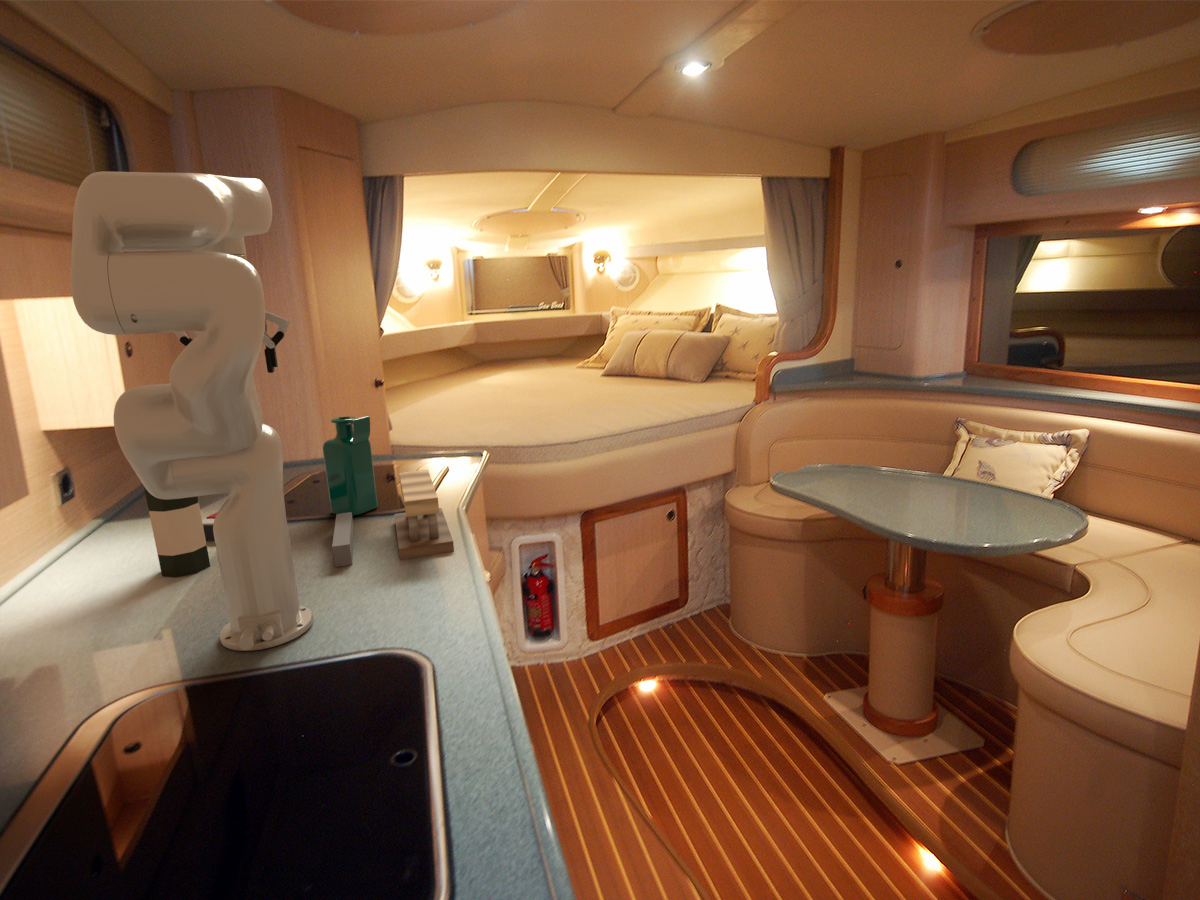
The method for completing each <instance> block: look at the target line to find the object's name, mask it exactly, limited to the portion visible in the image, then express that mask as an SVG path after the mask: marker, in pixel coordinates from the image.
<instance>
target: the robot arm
mask: <svg viewBox="0 0 1200 900" xmlns="http://www.w3.org/2000/svg"><path fill="white" fill-rule="evenodd" d="M78 187H79V188H78V190H77V194H76V196H75V201H74V208H73V216H72V230H71V231H72V232H71V233H72V235H71V236H72V242H71V259H70V260H71V261H70V286H71V287H70V288H71V289H70V291H71V296H72V301H73V305H74V306H75V310H76V313H77V314H78V316H79V317H80V319H81V320H82V322H83V323H84V324H85V325H87V327H89V328H90V329H92V330H94V331H95V332H98V333H101V334H106V335H113V336H127V335H128V336H129V335H142V334H143V335H145V334H146V335H147V334H164V333H173V334H174V335H175V337H177V339H178V341H179V342H180V344H182V345H184V346H185V348H183V350H182V351H181V352H180V353H179V355H178V356H177V357H176V359H175V360H174V361H173V363H172V366H171V368H170V370H169V374H168V377H169V378H168V379H169V380H168V381H169V382H168V383H159V384H157V383H156V384H145V385H140V386H135V387H131V388H129V389H127V390H126V391H124V392H123V393H121V394H120V395H119V397H118V399H117V400H116V402H115V405H114V407H113V408H114V409H113V426H114V432H115V436H116V439H117V443H118V446H119V447H120V449H121V452H122V453H123V456H124V457H125V460H127V462H128V463H129V465H130V467H131V468H132V470H133V471H134V473H135V475H136V476H137V478H138V480H140V482H141V484H142V485H143V487H145V488H146V490H147V491H148V492H149V493H150V494H151V495H153V496H154V497H156V498H159V499H164V500H170V499H181V498H188V497H195V496H198V497H202V496H210V495H215V494H216V495H220V494H225V495H226V494H227V495H228V498H227V499H226V500H225V502H224V503H223V504H222V505H221V507H220V508H219V510H218V511H217V512H218V513H217V512H216V513H217V515H216V517H215V519H214V523H213V533H214V539H215V541H214V543H215V548H216V555H217V559H218V566H219V572H220V576H221V577H220V578H221V582H222V587H223V594H224V598H225V604H226V605H225V606H226V609H227V615H228V621H229V622H228V623H226V624H225V625H224V626H223V628H221V629H220V632H219V641H220V643H221V645H223V647H225V649H226V648H227V649H229V650H233V651H239V652H240V651H241V652H249V651H250V652H251V651H259V650H265V649H269V648H273V647H276V646H281V645H283V644H286V643H288V642H290V641H292V640H295V639H297V638H298V637H300V636H301V635H303V634H304V633H306V632H307V631H308V630H309V629H310V628H311V626H312V625H313V623H314V616H313V615H314V614H313V612H312V610H311V609H310V608H308V607H306V606H304V605H301V603H300V599H299V593H298V592H299V591H298V586H297V585H298V584H297V579H296V573H295V572H296V571H295V565H294V560H293V553H292V547H291V546H292V545H291V539H290V532H289V527H288V519H287V512H286V506H285V505H286V504H285V497H284V496H285V495H284V450H283V449H284V448H283V443H282V438H281V437H280V435H279V433H278V432H277V430H276V429H274V428H273V427H271V426H270V425H268V424H265V423H264V418H263V411H262V408H261V402H260V399H259V395H258V390H257V386H256V382H255V377H254V371H255V368H256V366H257V363H258V360H259V356H260V353H261V348H262V345H263V344H264V345H265V348H264V357H265V365H266V369H267V373H269V374H273V373H274V372H275V368H277V367H279V364H278V359H277V352H276V350H277V349H276V347H277V346H278V344H279V343H280V342H281V341H282V340H283V339H284V337H285V335H286V333H287V331H288V329H289V325H290V320H288V319H286V318H283V317H282V316H279V315H278V314H277V315H276V314H274V313H271V312H269V311H267V310H266V301H265V292H264V285H263V283H262V279H261V276H260V274H259V272H258V270H257V269H256V268H255V267H254V265H253V264H252V263H251V262H249V261H248V257H247V248H246V243H245V237H249V236H258V235H263V234H265V233H268V232H269V230H270V228H271V227H272V226H271V225H272V223H273V222H272V221H273V205H272V199H271V196H270V193H269V190H268V188H267V187H266V185H265V183H264V182H263V181H262V180H261V179H260V178H256V177H255V178H254V177H233V176H225V175H218V174H210V173H209V174H208V173H197V172H151V171H150V172H149V171H148V172H146V171H143V172H142V171H97V172H96V171H95V172H92V173H90V174H89V175H87V176H86V177H85V178H84V179H83V180H82V182H81V184H80V185H79V186H78ZM267 321H269V322H271V323H274V324H275V325H277V326H278V328H277V331H276V333H275V334H274V335H272V337H271V336H270V335H269V334H268V333H267V332H268V325H267ZM186 332H195V338H192V337H190V336H189V335H188V334H187V333H186Z"/></svg>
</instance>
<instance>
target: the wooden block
mask: <svg viewBox="0 0 1200 900" xmlns="http://www.w3.org/2000/svg"><path fill="white" fill-rule="evenodd" d="M399 482H400V489H401V495H402V501H403V507H404V510H405V511H404V513H406V517H412V516H420V515H427V514H434V513H439V508H440V506H439V497H438V494H437V492H436V489H435V486H434V482H433V480H432V477H431V475H430V472H429V469H422V470H415V471H414V470H413V471H406V472H405V471H403V472H399Z"/></svg>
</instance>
